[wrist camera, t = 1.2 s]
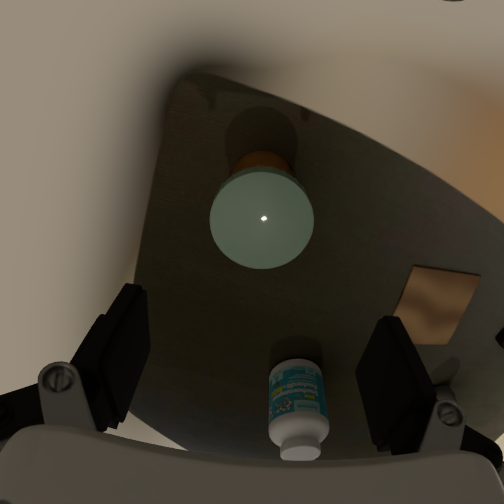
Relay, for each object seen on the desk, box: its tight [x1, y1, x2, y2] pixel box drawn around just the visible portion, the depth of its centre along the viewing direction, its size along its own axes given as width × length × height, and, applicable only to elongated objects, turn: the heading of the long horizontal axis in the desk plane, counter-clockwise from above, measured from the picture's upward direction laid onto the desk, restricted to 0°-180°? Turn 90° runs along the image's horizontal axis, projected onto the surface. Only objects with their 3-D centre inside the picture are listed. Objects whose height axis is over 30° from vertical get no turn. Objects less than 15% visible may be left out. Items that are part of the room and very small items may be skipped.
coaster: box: [392, 265, 481, 344], centre depth 37 cm, size 12×12×1 cm
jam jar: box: [228, 151, 295, 179], centre depth 26 cm, size 6×6×11 cm
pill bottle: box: [269, 359, 329, 461], centre depth 37 cm, size 8×7×14 cm
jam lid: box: [210, 165, 314, 269], centre depth 22 cm, size 7×7×2 cm
